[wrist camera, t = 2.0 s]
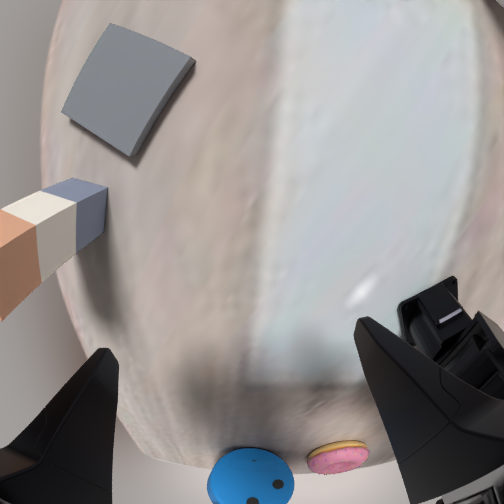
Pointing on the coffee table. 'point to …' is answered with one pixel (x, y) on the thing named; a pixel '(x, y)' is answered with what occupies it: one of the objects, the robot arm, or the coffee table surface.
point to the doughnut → (338, 457)
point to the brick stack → (46, 235)
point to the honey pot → (501, 2)
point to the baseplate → (125, 87)
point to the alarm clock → (250, 478)
